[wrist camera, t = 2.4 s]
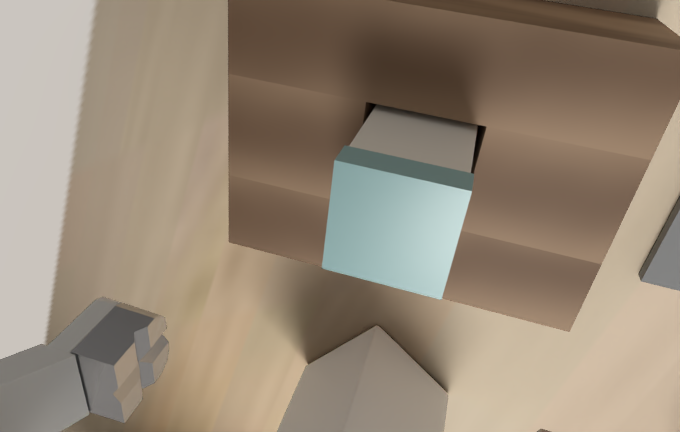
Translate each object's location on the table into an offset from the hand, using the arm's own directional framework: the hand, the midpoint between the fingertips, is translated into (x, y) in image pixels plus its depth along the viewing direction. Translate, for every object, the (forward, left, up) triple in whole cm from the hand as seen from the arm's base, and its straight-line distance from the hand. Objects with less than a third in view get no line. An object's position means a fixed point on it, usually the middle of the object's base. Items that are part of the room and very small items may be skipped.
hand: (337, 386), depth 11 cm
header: (0, 0, -18) cm, 18 cm away
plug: (0, 0, -18) cm, 18 cm away
